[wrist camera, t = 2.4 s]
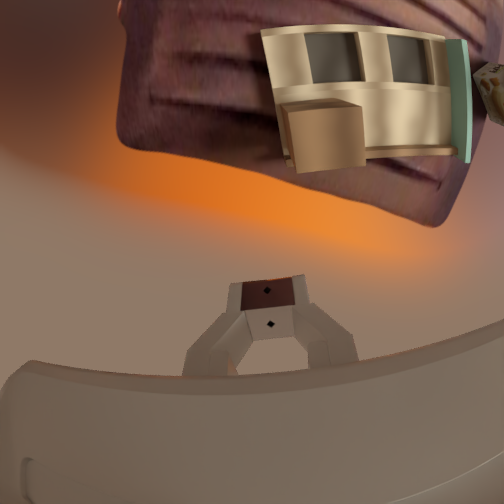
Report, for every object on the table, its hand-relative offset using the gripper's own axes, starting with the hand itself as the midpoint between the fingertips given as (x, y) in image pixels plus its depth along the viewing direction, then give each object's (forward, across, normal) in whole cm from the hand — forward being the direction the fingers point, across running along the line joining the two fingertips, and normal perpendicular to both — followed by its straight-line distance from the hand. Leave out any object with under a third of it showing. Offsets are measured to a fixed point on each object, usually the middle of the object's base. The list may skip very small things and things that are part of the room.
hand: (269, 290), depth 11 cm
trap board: (+29, -15, -6) cm, 33 cm away
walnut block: (+27, -6, -1) cm, 28 cm away
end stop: (+29, -29, -5) cm, 41 cm away
